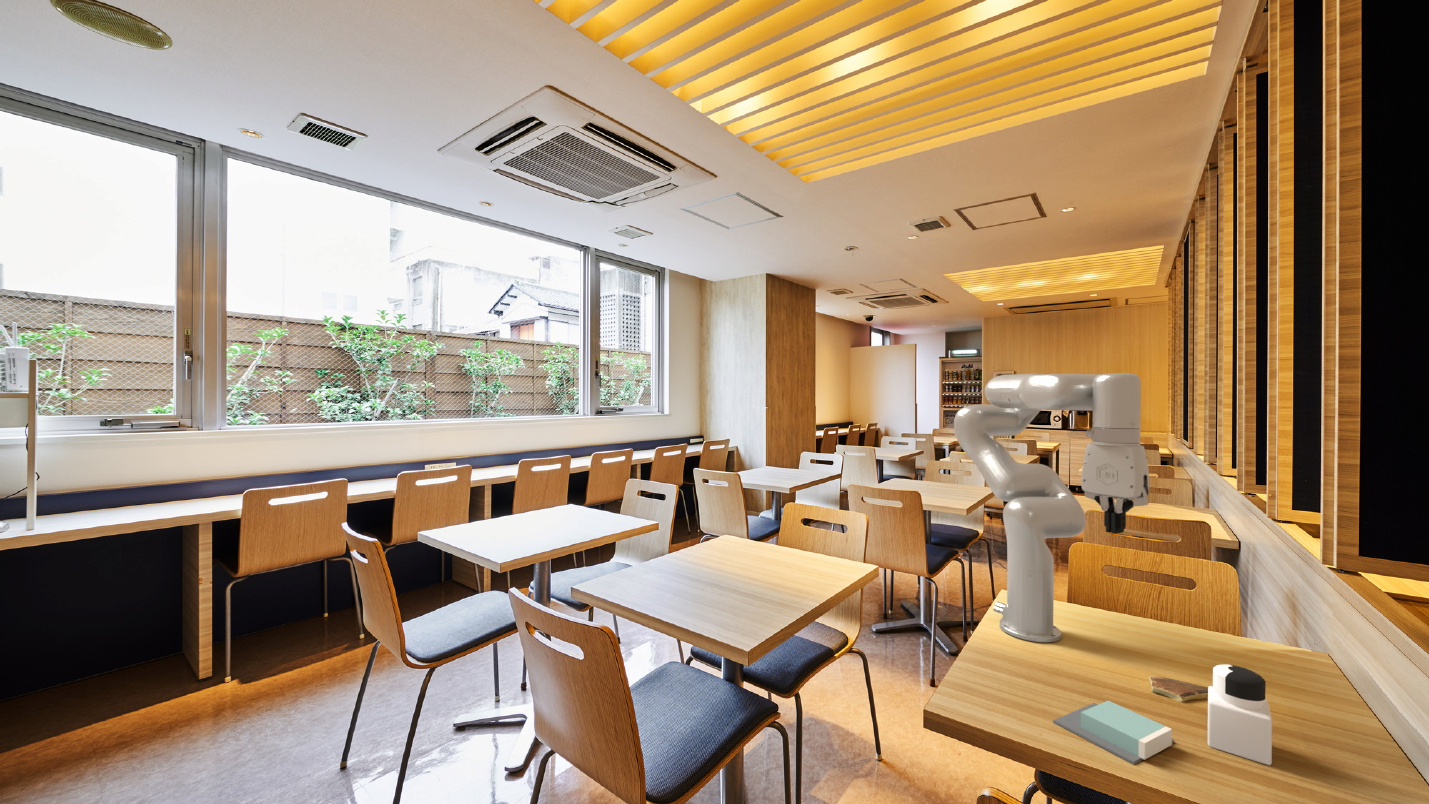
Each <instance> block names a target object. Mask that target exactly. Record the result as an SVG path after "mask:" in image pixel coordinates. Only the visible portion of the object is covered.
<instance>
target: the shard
mask: <svg viewBox="0 0 1429 804" xmlns="http://www.w3.org/2000/svg"><path fill="white" fill-rule="evenodd" d="M1148 681H1149V682H1150V685H1151V692H1153V693H1155V694H1160V695H1162V696H1164V697H1165V696H1166V697H1168V698H1171V699H1173V700H1174V701H1177V702H1179V703H1185V702H1187V701H1190V700H1201V699H1202V700H1203V699H1208V687H1209V686H1202V685H1198V684H1196V683H1192V682H1188V681H1187V682H1186V681H1182V680H1179V679H1173V678H1169V677H1164V676H1159V675H1149V676H1148Z"/></svg>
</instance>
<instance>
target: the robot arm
mask: <svg viewBox="0 0 1429 804" xmlns="http://www.w3.org/2000/svg"><path fill="white" fill-rule="evenodd" d="M1141 383H1142V381H1141V378H1140V376H1138V375H1137V374H1135V373H1123V372H1121V373H1120V372H1118V373H1117V372H1116V373H1114V372H1113V373H1102V374H1096V373H1095V374H1094V373H1048V374H1047V373H1045V374H1043V373H1038V372H1037V373H1019V374H1018V373H1016V374H1015V373H1014V374H1001V375H997V376H995V377H993V378H990V380H989V381H988V382H987V383H986V385H985V386H984V396H985V398H986V400H987V401H988V402H989V403H990V404H988V403H987V404H984V403H982V404H971V405H967V406H964V407H962V408H960V409H959V410H958V411H957V412H956V414H955V417H954V420H953V428H954V434H955V438H956V440H957V442H958V444H959V446H960V448H961V449H962V450H963V452H964V453H965V454H966V455H967V456H968V457H969V458H970V459H971V460H972V462H973V463H974V464H975V466H976V467H977V469H978V471H979V473H980V474H981V475H982V477H983V479H984V481H985V483H986V484H987V486H988V488H990V490H991V492H992V493H993V494H994V496H995V497H996V498H997V499H998V500H1000V501H1002V502H1007V503H1006V504H1005V505H1004V508H1003V511H1002V518H1003V520H1002V521H1003V525H1004V529H1005V535H1006V545H1007V546H1006V550H1007V551H1006V553H1007V554H1006V555H1007V556H1006V557H1007V559H1006V560H1007V566H1006V568H1007V573H1006V574H1007V575H1006V577H1007V578H1006V579H1007V581H1006V584H1007V585H1006V586H1007V587H1006V604H1005V603H1003V602H1002V601H1001V602H1000V601H996V602H995V603H994V606H993V609H992V610H993V611H994V612H995V613H998V614H1001V615H1002V618H1001V619H1000V620H999V628H1000V629H1001V630H1002V631H1003V632H1004V633H1007V634H1008V635H1010V636H1013V637H1015V638H1017V639H1020V640H1025V641H1031V642H1035V643H1036V642H1037V643H1052V642H1053V643H1054V642H1057V641H1059V640H1061V638H1062V631H1061V630H1060V628H1058V627H1057V626H1055V625H1054V600H1055V599H1054V597H1055V596H1054V595H1055V594H1054V592H1055V591H1054V589H1055V588H1054V587H1055V584H1054V583H1055V582H1054V579H1055V577H1054V576H1055V569H1054V568H1055V562H1054V561H1055V559H1054V556H1053V553H1052V551H1051V550H1050V548H1049V546H1048V544H1047V543H1046V541H1045V539H1058V538H1063V539H1064V538H1072V537H1073V538H1074V537H1076V536H1079V535H1080V534H1082V533H1083V532H1084V530H1085V528H1086V524H1087V519H1086V515H1085V511H1084V508H1083V507H1082V506H1081V504H1080V502H1079V501H1078V499H1077V498H1076V497H1075V495H1074V493H1072V492H1071V490H1070V489H1069V487H1068V486H1067V485H1066V484H1065V482H1064V481H1063V480H1062V478H1061V477H1060V476H1059V475H1058V473H1057V472H1056V471H1055V470H1054V469H1053V468H1052V467H1050V466H1048V465H1045V464H1041V463H1022V462H1018V461H1016V460H1015V459H1014V458H1013V456H1012V455H1011V454H1010V452H1009V451H1008V449H1007V448H1006V447H1005V446H1003V444H1001V443H1000V442H998V441H997V440H995V439H993V438H992V437H1011V436H1012V437H1013V436H1016V435H1019V434H1021V433H1022V432H1023V431H1025V429H1026V428H1028V426H1029V425H1030V424H1031V422H1032V421H1033V420H1034V419H1035V418H1036V416H1037V415H1038V414H1039V413H1040V412H1041V410H1045V411H1092V427H1091V429H1087V430H1086V431H1085V436H1086V437H1089V438H1090V440H1091V442H1088V443H1087V444H1086V447H1085V451H1084V456H1083V460H1082V468H1081V479H1080V480H1081V491H1083V493H1084V497H1085V498H1087V499H1090V500H1091V501H1092V500H1093V501H1095V502H1096V503H1097V504H1098V505H1099V506H1100V509H1101V510H1102V512H1104V515H1103V517H1104V519H1103V522H1104V523H1103V526H1104V527H1105V532H1106V533H1111V534H1115V535H1116V534H1122V533H1124V531H1125V529H1126V527H1127V525H1126V524H1127V520H1126V519H1127V513H1128V512H1130V510H1131V509H1133V508H1134V507H1144V506H1148V505H1149V498H1148V496H1149V495H1150V470H1149V469H1150V468H1149V462H1148V458H1147V453H1146V450H1145V446H1144V445H1141V404H1142V403H1141V402H1142V398H1141V396H1142V395H1141V394H1142V389H1141V388H1142V385H1141ZM1115 498H1116V500H1115Z"/></svg>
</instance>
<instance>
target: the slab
mask: <svg viewBox="0 0 1429 804" xmlns="http://www.w3.org/2000/svg"><path fill="white" fill-rule="evenodd" d="M1081 728H1083V729H1085V730H1087V731H1089V732H1091V733H1093V734H1095V735H1097V736H1099V737H1101V738H1103V739H1105V740H1107V741H1109V742H1111V743H1113V744H1115V745H1117V746H1119V747H1120V748H1122V749H1124V750H1126V751H1128V752H1130V753H1132V754H1134V755H1136V756H1138V757H1140V758H1142V759H1143V760H1147V759H1148V758H1151V757H1153V756H1154V755H1156V754H1157V753H1159V752H1161V751H1163V750H1165V749H1167V748H1169V747H1171V746H1172V745H1173V743H1172V739H1173V728H1170V727H1168V726H1166V725H1164V724H1161V723H1159V722H1157V721H1155V720H1153V719H1150V718H1149V717H1146V716H1144V715H1141V714H1139V713H1137V712H1135V711H1133V710H1131V709H1128V708H1126V707H1123V706H1122V705H1119V704H1117V703H1114V702H1112V701H1110V700H1105V701H1104V702H1101V703H1099V704H1098V705H1097V706H1094V707H1092V708H1090V709H1087V710H1085V711H1083V712H1081Z"/></svg>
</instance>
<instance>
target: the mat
mask: <svg viewBox="0 0 1429 804" xmlns="http://www.w3.org/2000/svg"><path fill="white" fill-rule="evenodd" d="M1097 705H1099V704H1097V703H1096V702H1093V703H1091V704H1089V705H1086V706H1084V707H1081V708H1079V709H1076V710H1074V711H1072V712H1070V713H1067V714H1065V715H1062V716H1059V717H1057V718H1056V719H1053V721H1052V722H1053V724H1055V725H1057V726H1059V727H1061V728H1063V729H1064V730H1067V731H1069V732H1071V733H1072V734H1073V735H1076V736H1079V738H1082V739H1084V740H1086V741H1088V742H1089V743H1092V744H1094V745H1095V746H1097V747H1099V748H1101V749H1103V750H1105V751H1107V752H1109V753H1111V754H1112V755H1114V756H1116V757H1118V758H1120V759H1122V760H1124V761H1126V762H1127V763H1130V764H1132V765H1135V764H1137V763H1139V762H1141V761H1143V760H1144V759H1142V758H1140V757H1138V756H1136V755H1134V754H1132V753H1130V752H1128V751H1126V750H1124V749H1122V748H1120V747H1119V746H1117V745H1115V744H1113V743H1111V742H1109V741H1107V740H1105V739H1103V738H1101V737H1099V736H1097V735H1095V734H1093V733H1091V732H1089V731H1087V730H1085V729H1083V728H1081V712H1083V711H1085V710H1087V709H1090V708H1092V707H1094V706H1097ZM1174 743H1175V739H1173V738H1172V744H1174Z"/></svg>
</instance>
